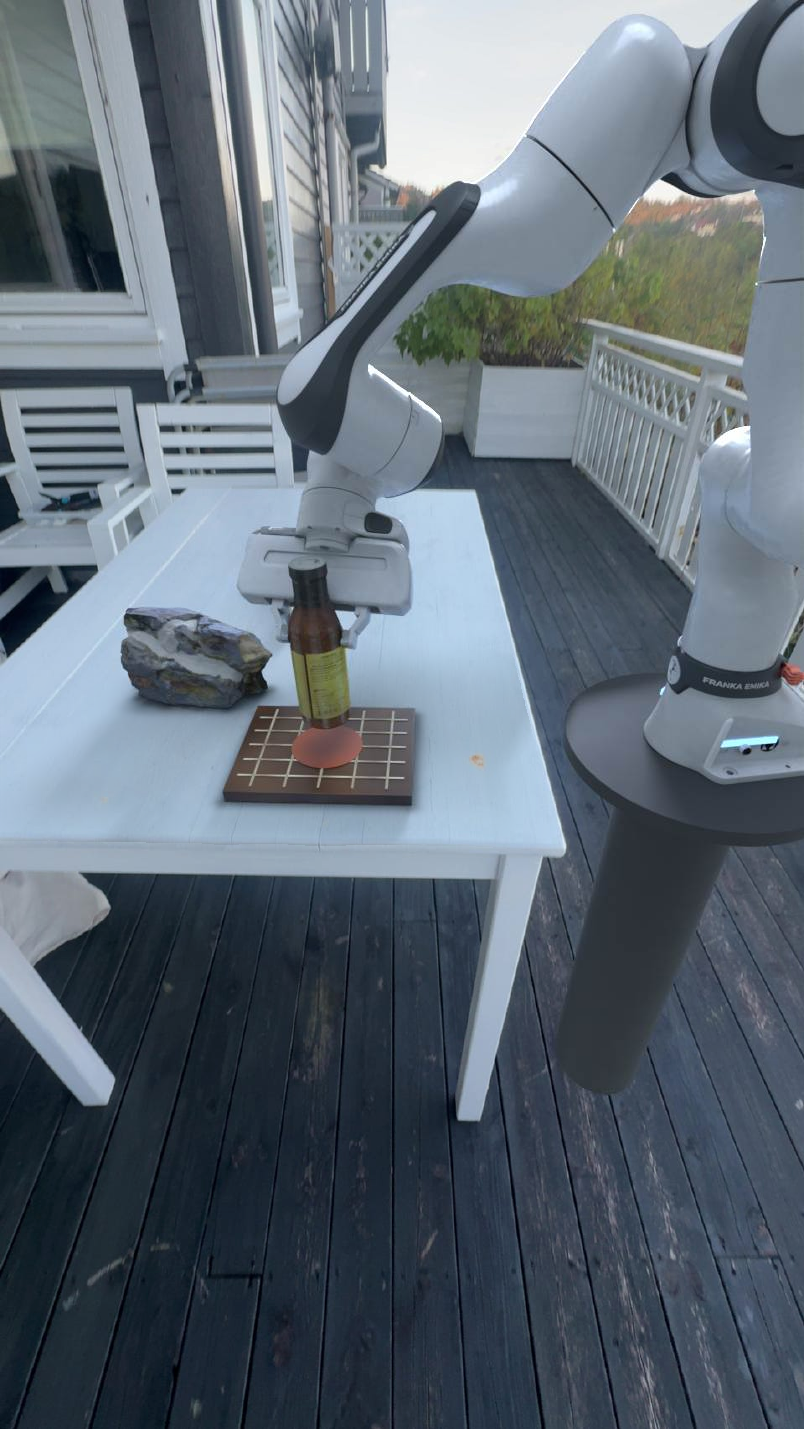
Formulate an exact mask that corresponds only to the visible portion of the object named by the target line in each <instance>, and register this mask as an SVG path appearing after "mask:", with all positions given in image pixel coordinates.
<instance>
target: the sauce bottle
mask: <svg viewBox="0 0 804 1429" xmlns="http://www.w3.org/2000/svg"><path fill="white" fill-rule="evenodd" d="M288 570H289V576H290V577H291V579H292V584H293V592H294V602H295V604H294V608H293V610H292V613H291V616H290V618H289V621H288V631H289V636H290V643H289V648H290V655H291V662H292V669H293V676H294V682H295V688H296V694H297V702H298V706H299V708H300V712H301V713H302V719H303V721H304V723H306V724H307V725H309V726H311V727H313V728H316V729H332V728H335V727H338V726H341V725H342V724H344V723H345V722H346V721H347V720H348V719H349V717H350V707H351V704H352V700H351V690H350V680H349V670H348V661H347V650H346V649H347V648H342V646H341V645H340V640H341V638H342V636H341V633H342V629H343V630H344V628H343V626H342V623H341V622H340V619H339V617H338V615H337V611H335V610H334V607H333V605H332V603H331V600H330V598H329V594H328V588H327V579H326V576H327V573H328V570H327V564H326V561H325V560H324V559H322V558H321V557H317V556H305V557H299V558H296V559H293V560H291V561H290V562H289V564H288Z"/></svg>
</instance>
